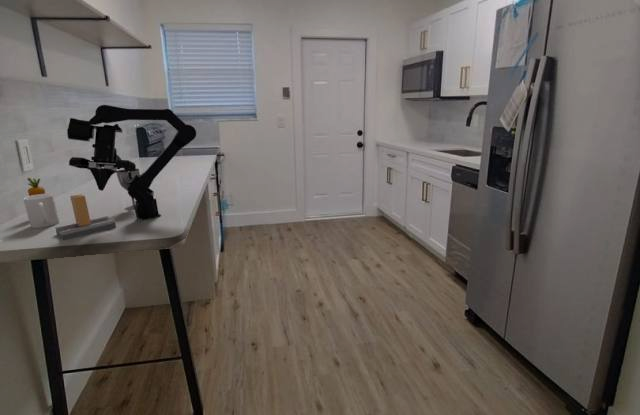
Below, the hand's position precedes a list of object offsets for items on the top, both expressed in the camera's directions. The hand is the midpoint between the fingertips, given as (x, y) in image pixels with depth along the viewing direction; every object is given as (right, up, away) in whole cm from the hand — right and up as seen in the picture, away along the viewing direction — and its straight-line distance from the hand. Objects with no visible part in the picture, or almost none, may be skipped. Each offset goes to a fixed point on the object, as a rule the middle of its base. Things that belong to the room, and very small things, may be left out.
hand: (101, 190), depth 121 cm
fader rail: (-4, -13, -1) cm, 14 cm away
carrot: (-33, -9, +18) cm, 39 cm away
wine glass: (-2, -6, +26) cm, 26 cm away
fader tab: (-5, -12, -1) cm, 13 cm away
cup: (-23, -12, +7) cm, 27 cm away
